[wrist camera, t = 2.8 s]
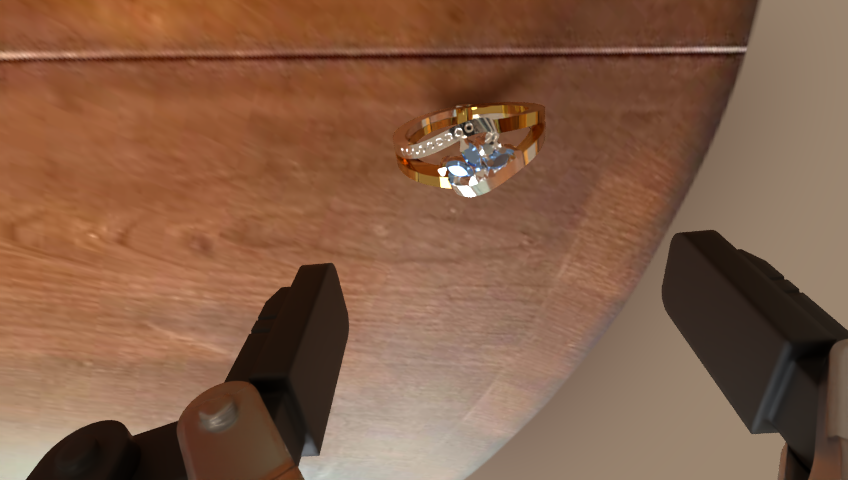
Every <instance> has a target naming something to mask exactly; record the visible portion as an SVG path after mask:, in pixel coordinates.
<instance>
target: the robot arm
mask: <svg viewBox="0 0 848 480" xmlns="http://www.w3.org/2000/svg"><path fill="white" fill-rule="evenodd" d="M662 300H663V304H664V307H665V310H666V311H667V313H668V315H669V316H670V318H671V319H672V321H673V322H674V324H675V325H676V326H677V328H678V329H679V331H680V332H681V334H682V335H683V337H684V338H685V339H686V341H687V342H688V343H689V345H690V347H691V348H692V349H693V351H694V352H695V354H696V355H697V357H698V358H699V359H700V361H701V362H702V364H703V365H704V367H705V368H706V369H707V371H708V372H709V374H710V375H711V377H712V378H713V379H714V381H715V382H716V384H717V385H718V387H719V388H720V389H721V391H722V392H723V394H724V395H725V397H726V398H727V400H728V401H729V402H730V404H731V405H732V407H733V408H734V410H735V411H736V412H737V414H738V415H739V417H740V418H741V420H742V421H743V422H744V424H745V425H746V427H747V428H748V430H749V431H750V433H751V434H761V433H780V434H781V436H782V437H783V438H784V440H785V441H786V443H785V445H784V447H783V449H782V452H781V458H780V465H779V473H778V480H848V330H847V329H845V328H844V327H843V326H842V325H841V324H839V323H838V322H837V321H836V320H835V319H833V318H832V317H831V316H830V315H829V314H828V313H826V312H825V311H824V310H823V309H822V308H821V307H819V306H818V305H817V304H816V303H815V302H814V301H812V300H811V299H810V298H809V297H808V296H806V295H805V294H804V293H800V292H799V289H798V288H797V287H796V286H795V285H793V284H792V283H791V282H790V281H789V280H785V279H784V276H783V275H782V274H781V273H779V272H778V271H777V270H776V269H775V268H774V267H772V266H771V265H770V264H769V263H768V262H766V261H765V260H763V259H760V258H758V257H756V256H754V255H752V254H750V253H748V252H746V251H744V250H742V249H738V250H737V249H736V248H735V247H734V246H732V245H731V244H730V243H729V242H728V241H727V240H726V239H725V238H723V237H722V236H721V235H720V234H719V233H718V232H716V231H714V230H706V231H694V232H682V233H677V234H675V235H674V236H673V238H672V240H671V244H670V249H669V254H668V260H667V265H666V269H665V274H664V279H663V285H662ZM348 333H349V319H348V312H347V308H346V304H345V301H344V297H343V293H342V289H341V286H340V282H339V278H338V275H337V271H336V268H335V266H334V264H333V263H324V264H313V265H302V266H301V267H300V268H299V270H298V272H297V274H296V277H295V279H294V281H293V283H292V285H291V287H282V288H280V289H279V290H278V291H277V292H276V293H275V294H274V295H273V296H272V297H271V298H270V299H269V300H268V301H266V303H265V305H264V307H263V309H262V311H261V313H260V315H259V317H258V321H256V322H255V324H254V326H253V328H252V330H251V334H249V336H248V338H247V340H246V342H245V343H244V345H243V347H242V349H241V351H240V353H239V355H238V357H237V359H236V361H235V363H234V365H233V366H232V368H231V370H230V372H229V374H228V376H227V378H226V380H225V382H224V383H222V384H219V385H216V386H214V387H212V388H210V389H208V390H206V391H205V392H203V393H202V394H200V395H199V396H198V397H196V398H195V399H194V400H193V401H192V402H191V403H190V404H189V405H188V406H187V407H186V409H185V410H184V411H183V413H182V415H181V416H180V418H179V421H176V422H173V423H170V424H167V425H164V426H161V427H158V428H155V429H152V430H149V431H146V432H143V433H140V434H137V435H134V436H132V435H131V434H130V432H129V431H128V429H127V428H126V427H125V425H124V424H122V423H121V422H118V421H114V420H105V421H99V422H96V423H92V424H89V425H87V426H85V427H82V428H80V429H78V430H76V431H75V432H73V433H71V434H70V435H68V436H67V437H65V438H64V439H62V440H61V441H60V442H58V443H57V444H56V445H55V446H54V447H53V448H51V449H50V450H49V451H48V452H47V453H46V454H45V456H44V457H43V458H42V459H41V460H40V462H39V463H38V464H37V466H36V467H35V468H34V470H33V471H32V472H31V473H30V475H29V476H28V477H27V479H26V480H304V478H303V476H302V474H301V472H300V470H299V468H298V466H299V462H300V459H301V457H303V456H319V455H320V451H321V446H322V442H323V438H324V434H325V430H326V426H327V422H328V417H329V413H330V409H331V405H332V401H333V397H334V393H335V388H336V384H337V380H338V376H339V372H340V368H341V363H342V359H343V355H344V351H345V347H346V343H347V339H348Z"/></svg>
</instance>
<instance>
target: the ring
mask: <svg viewBox="0 0 848 480" xmlns="http://www.w3.org/2000/svg"><path fill="white" fill-rule="evenodd" d="M455 124H457V125H456V126H454V127H452V128H450V129H449V130H447V131H445V132H443V133H441V134H439V135H437V136H435V137H433V138H431V139H428V140H426V141H424V142H421V143H416V142H417V141H418V140H419V139H421V138H422V137H423V136H425V135H426V134H428V133H430V132H432V131H435V130H437V129H440V128H443V127H446V126H450V125H455ZM525 127H529V128H530V131H529V133H528V135H527V136H526V138H525V139H524V140H523V141H522V142H521V143H520V144H519V145H518V146H517V147H514V146H513V145H511V144H504V145H502V144H500V143H499V142H498V141H497V140H498V138H499V133H502V132H507V131H512V130H517V129H521V128H525ZM545 131H546V122H545V106H543V105H540V104H535V103H525V102H496V103H482V104H472V105H471V103H465V104H458V105H455V107H451V108H446V109H442V110H438V111H434V112H431V113H428V114H425V115H422V116H419V117H417V118H415V119H413V120H410V121H409V122H407V123H405V124H403V125H402V126H401V127H399V128H398V129H397V130H396V131H395V132H394V134H393V143H394V150H395V153H396V158H397V164H398V166H399V168H400V170H401V171H402V172H403V173H404V174H405V175H406V176H408V177H409V178H411V179H413V180H415V181H417V182H420V183H423V184H426V185H431V186H436V187H443V188H452V190H453V191H454V192H455V193H457V194H459V195H461V196H466V197H473V196H478V195H482V194H484V193H487V192H489V191H491V190H492V189H494V188H496V187H497V186H499V185H500V184H502V183H503V182H505V181H506V180H507V179H509V178H510V177H511V176H513V175H514V174H515V173H517V172H518V171H519V170H521V169H522V168H523V167H524V166H526V165H527V164H528V163H529V162H530V161H531V160H532V159H533V158H534V157H535V156H536V155H537V154H538V152H539V151H540V150H541V148H542V146H543V144H544V141H545ZM478 133H484V134H483V136H482V137H480V136H478V137H476V138H475V143H474V142H473V141H471V140H469V139H468V136H471V135H474V134H478ZM458 141H459V148H460V152H461V153H462V154H461V155H460V156H454V157H450V156H446V157H443V158H442V160H441V163H440V165H433V164H429V163H425V162H423V161H421V160H419V159H417V158H421V157H425V156H428V155H431V154H433V153H436V152H438V151H440V150H442V149H444V148H446V147H448V146H450V145H452V144H454V143H456V142H458ZM468 176H470V179H461V178H460V177H468Z"/></svg>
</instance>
